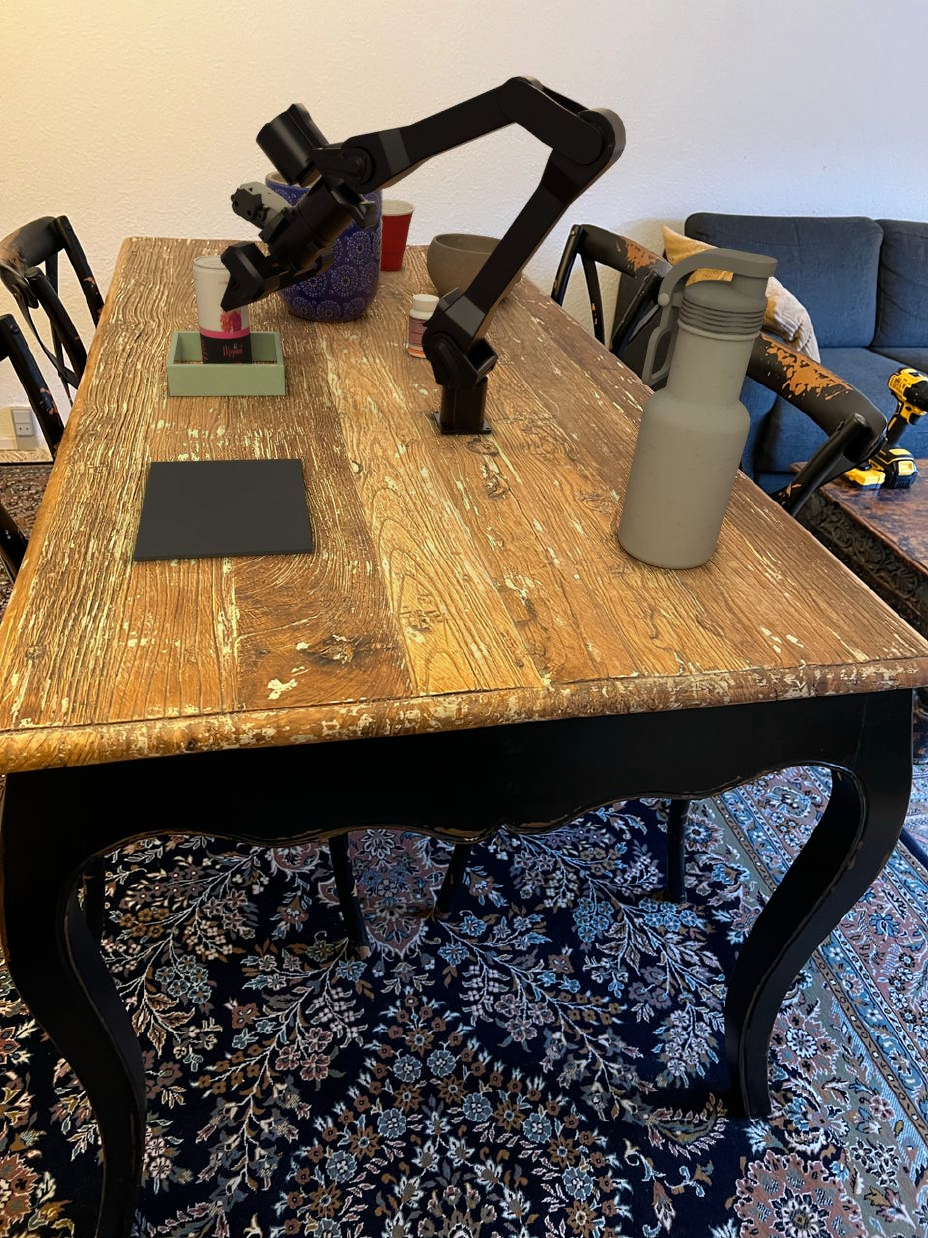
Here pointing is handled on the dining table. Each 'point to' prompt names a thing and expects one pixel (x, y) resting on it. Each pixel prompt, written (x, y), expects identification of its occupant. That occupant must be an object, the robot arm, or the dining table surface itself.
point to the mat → (223, 510)
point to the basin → (225, 368)
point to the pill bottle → (419, 321)
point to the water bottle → (694, 410)
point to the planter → (337, 266)
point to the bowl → (459, 260)
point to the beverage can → (219, 316)
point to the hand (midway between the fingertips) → (243, 300)
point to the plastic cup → (394, 232)
